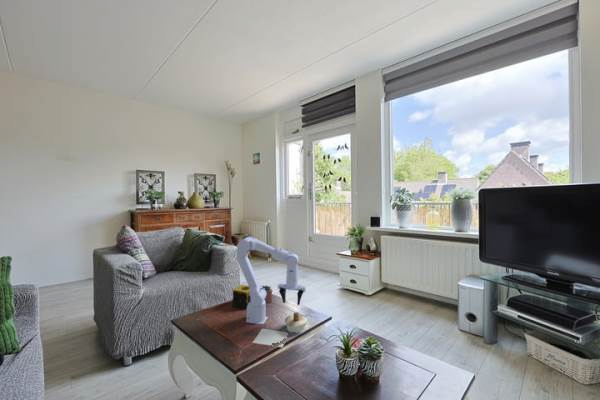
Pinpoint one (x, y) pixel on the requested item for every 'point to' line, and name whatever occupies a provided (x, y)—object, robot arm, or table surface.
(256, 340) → the mat
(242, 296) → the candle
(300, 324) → the lid
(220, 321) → the table surface
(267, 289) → the lighter
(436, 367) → the table surface
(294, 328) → the bowl
